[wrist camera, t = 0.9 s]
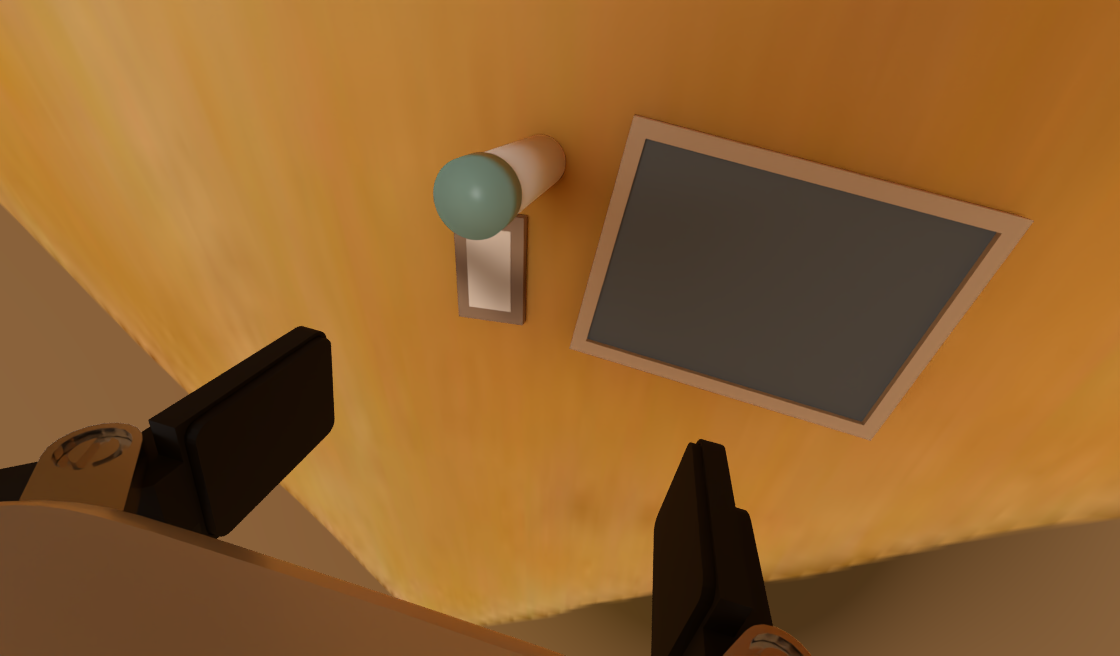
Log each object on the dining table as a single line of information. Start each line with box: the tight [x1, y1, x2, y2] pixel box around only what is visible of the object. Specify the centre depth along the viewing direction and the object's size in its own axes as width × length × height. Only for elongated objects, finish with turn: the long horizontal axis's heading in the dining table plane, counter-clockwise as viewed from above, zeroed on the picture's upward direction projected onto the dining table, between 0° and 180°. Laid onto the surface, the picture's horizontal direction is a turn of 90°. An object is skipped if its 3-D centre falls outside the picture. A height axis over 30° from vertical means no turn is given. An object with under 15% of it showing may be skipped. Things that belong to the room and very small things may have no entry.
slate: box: [570, 115, 1034, 441], centre depth 30 cm, size 16×22×1 cm
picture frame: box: [454, 214, 527, 325], centre depth 33 cm, size 8×5×1 cm, turn 177°
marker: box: [433, 135, 566, 240], centre depth 24 cm, size 3×3×12 cm
